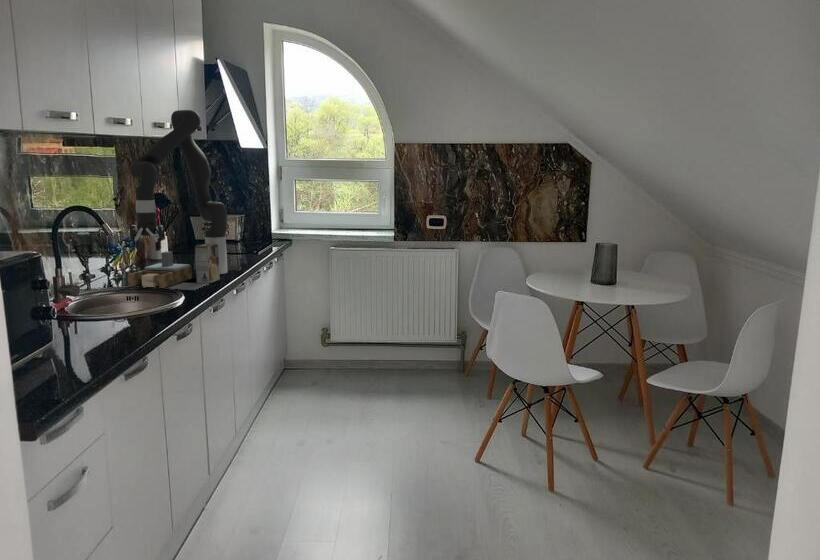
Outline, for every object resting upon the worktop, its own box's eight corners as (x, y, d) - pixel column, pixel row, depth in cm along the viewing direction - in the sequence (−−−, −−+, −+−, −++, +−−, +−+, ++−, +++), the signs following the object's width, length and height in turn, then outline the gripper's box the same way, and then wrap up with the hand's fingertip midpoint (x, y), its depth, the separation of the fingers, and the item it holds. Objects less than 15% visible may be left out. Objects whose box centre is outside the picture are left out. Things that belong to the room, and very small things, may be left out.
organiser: (161, 277, 286) (160, 265, 285) (192, 278, 283) (191, 266, 282) (128, 287, 262) (127, 274, 261) (161, 289, 259) (160, 275, 258)
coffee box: (207, 279, 281) (205, 243, 278) (220, 279, 280) (218, 243, 277) (196, 283, 273) (194, 246, 270) (209, 283, 271) (207, 246, 268)
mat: (183, 283, 271) (183, 282, 271) (209, 284, 269) (209, 283, 269) (167, 289, 259) (167, 287, 259) (194, 290, 257) (194, 289, 257)
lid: (159, 265, 284) (158, 249, 282) (190, 266, 281) (189, 250, 280) (144, 269, 273) (143, 253, 272) (176, 270, 270) (175, 254, 269)
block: (149, 285, 268) (148, 273, 267) (160, 285, 267) (159, 274, 266) (142, 287, 263) (141, 275, 262) (153, 288, 262) (152, 276, 261)
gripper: (166, 210, 262) (169, 249, 265) (135, 210, 264) (138, 248, 267) (156, 212, 254) (159, 252, 257) (124, 211, 257) (127, 251, 260)
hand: (148, 250), depth 262 cm, fingers open, 8 cm apart
